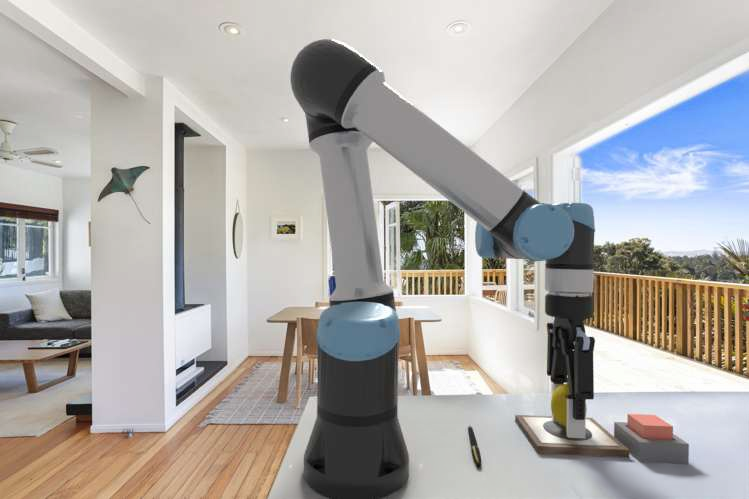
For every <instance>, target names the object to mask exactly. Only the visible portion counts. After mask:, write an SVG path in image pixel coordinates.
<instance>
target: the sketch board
mask: <svg viewBox="0 0 749 499" xmlns="http://www.w3.org/2000/svg"><path fill="white" fill-rule="evenodd" d="M514 417H515V418H514V422H515V423H516V424H517V426H518V427H519V429H520V431H521V432H522V433H523V435H524V436H525V438H526V439H527V440H528V442H529V443H530V445H531V446H532V448H533V449H534V451H535V452H536V453H537V454H539V455H560V456H580V457H581V456H583V457H605V458H606V457H607V458H608V457H609V458H626V459H627V458H628V459H629V458H630V453H629V449H628V448H626V447H625V446H624V445H623V444H622V443H621V442H619V441H618V440H617V439H616V438H615V437H614V435H613V434H611V433H610V432H609V431H608V430H606V428H605V427H603V426H602V425H601V424H600V423H599V422H598V421H596V419H594V418H593V417H586V423H585V438H568V437H567V436H566V428H565V427H564V426H563V425H561V424H559V423H558V422H554V421H553V420H552V415H547V416H546V415H525V414H524V415H522V414H515V416H514Z"/></svg>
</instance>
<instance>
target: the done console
mask: <svg viewBox="0 0 749 499" xmlns="http://www.w3.org/2000/svg"><path fill="white" fill-rule="evenodd" d="M627 422H628V421H626V422H624V421H623V422H622V421H614V422H613V423H614V424H613V436H614V437H615V438H616V439H617V440H618V441H619V442H621V443H622V444H623V445H624V446H625V447H626V448H628V449H629V455H631V456H632V457H633V458H635V459H636V460H637V461H638V462H639V463H658V464H659V463H660V464H661V463H665V464H685V465H686V464H687V465H688V464H689V463H690V462H689V459H690V458H689V454H690V448H689V447H690V446H689V445H690V444H689V443H688V442H686V440H684V439H683V438H680V437H679V436H677V435H676V434H674V433H673V440H656V439H642V438H641V437H640V436H638V435H637V434H636V433H634V432H633V431H632V430H630V429H629V428H628V427H627Z"/></svg>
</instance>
